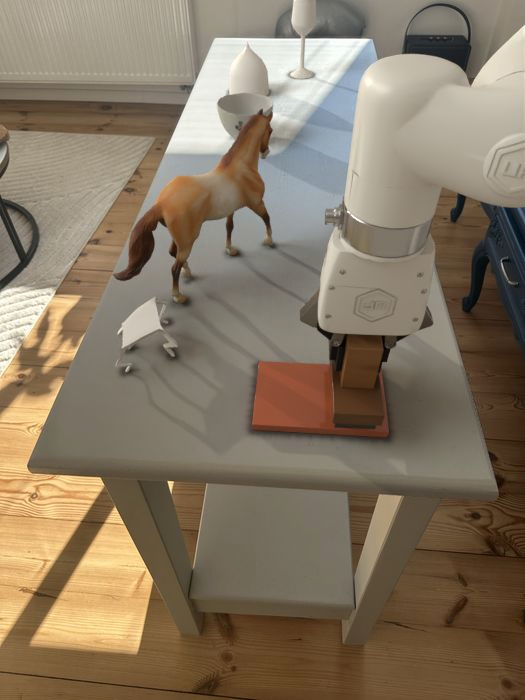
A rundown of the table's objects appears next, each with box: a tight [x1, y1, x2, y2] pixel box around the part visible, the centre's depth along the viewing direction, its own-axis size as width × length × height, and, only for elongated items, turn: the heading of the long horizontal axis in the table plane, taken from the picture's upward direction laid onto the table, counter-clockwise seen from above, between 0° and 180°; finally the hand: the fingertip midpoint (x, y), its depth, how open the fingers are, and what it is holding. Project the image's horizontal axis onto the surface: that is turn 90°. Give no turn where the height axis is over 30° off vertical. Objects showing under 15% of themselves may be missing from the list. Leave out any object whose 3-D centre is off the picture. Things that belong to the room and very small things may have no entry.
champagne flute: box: [289, 0, 317, 80], centre depth 131 cm, size 7×7×24 cm
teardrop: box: [228, 41, 270, 97], centre depth 127 cm, size 11×11×12 cm
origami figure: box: [114, 296, 179, 373], centre depth 66 cm, size 12×8×5 cm
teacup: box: [216, 92, 274, 142], centre depth 110 cm, size 15×12×8 cm
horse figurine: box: [111, 109, 274, 305], centre depth 71 cm, size 31×8×21 cm, turn 134°
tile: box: [251, 360, 390, 438], centre depth 60 cm, size 16×10×1 cm, turn 86°
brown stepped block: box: [328, 334, 385, 429], centre depth 55 cm, size 13×5×10 cm, turn 177°
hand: (356, 361), depth 55 cm, fingers closed on brown stepped block, 3 cm apart
